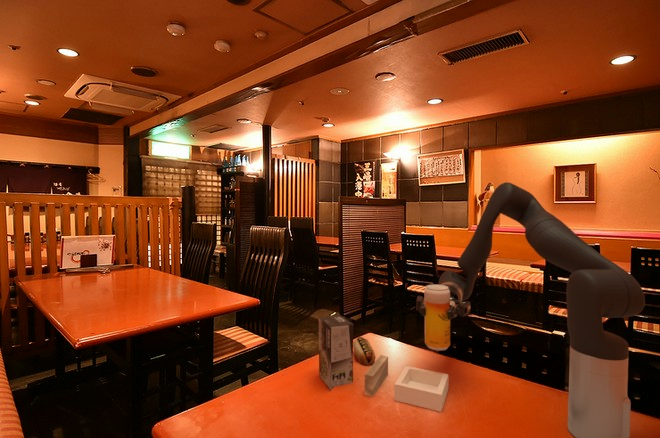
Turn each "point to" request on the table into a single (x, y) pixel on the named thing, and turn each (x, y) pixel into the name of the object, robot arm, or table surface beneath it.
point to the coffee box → (335, 350)
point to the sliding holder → (422, 388)
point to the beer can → (437, 317)
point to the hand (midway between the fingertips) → (436, 313)
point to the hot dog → (364, 351)
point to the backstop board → (376, 375)
